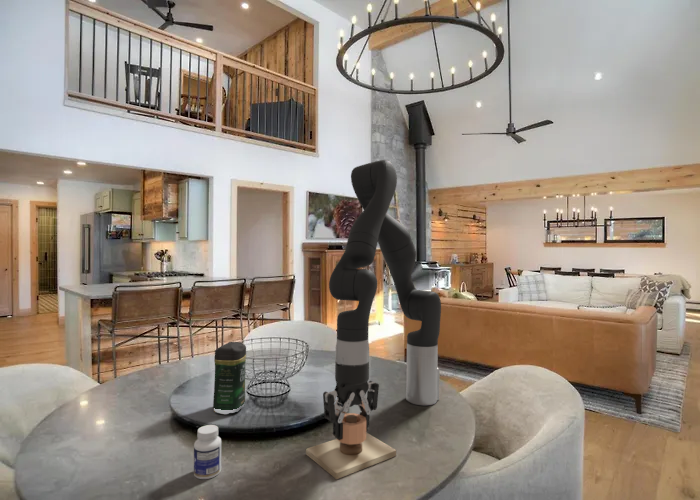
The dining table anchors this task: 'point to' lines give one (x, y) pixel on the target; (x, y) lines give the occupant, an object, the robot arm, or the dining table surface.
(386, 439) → the dining table surface
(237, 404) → the coffee jar
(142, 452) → the dining table surface
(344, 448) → the post
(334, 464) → the base board
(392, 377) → the dining table surface
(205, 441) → the pill bottle
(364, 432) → the ring
